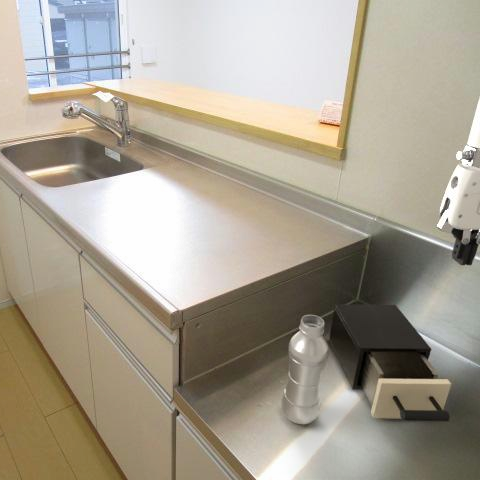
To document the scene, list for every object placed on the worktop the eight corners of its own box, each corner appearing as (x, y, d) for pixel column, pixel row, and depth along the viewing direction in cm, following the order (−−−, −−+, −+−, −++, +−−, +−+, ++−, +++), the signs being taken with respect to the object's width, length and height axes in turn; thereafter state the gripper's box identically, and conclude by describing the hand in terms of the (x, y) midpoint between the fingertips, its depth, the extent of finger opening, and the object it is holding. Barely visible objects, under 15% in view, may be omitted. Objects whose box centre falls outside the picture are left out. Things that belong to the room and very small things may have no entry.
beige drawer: (456, 442, 73) (468, 405, 70) (384, 441, 74) (394, 404, 70) (404, 366, 90) (412, 334, 87) (346, 366, 90) (352, 334, 87)
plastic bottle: (321, 409, 81) (338, 316, 73) (312, 435, 76) (329, 338, 68) (286, 396, 84) (298, 305, 76) (275, 420, 79) (286, 326, 71)
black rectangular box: (419, 389, 85) (431, 348, 81) (352, 389, 86) (360, 348, 82) (386, 342, 98) (395, 304, 94) (328, 341, 99) (334, 304, 95)
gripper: (456, 164, 68) (428, 271, 75) (559, 164, 67) (520, 272, 75) (431, 153, 75) (407, 252, 82) (523, 152, 74) (491, 252, 82)
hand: (461, 261), depth 79 cm, fingers closed
